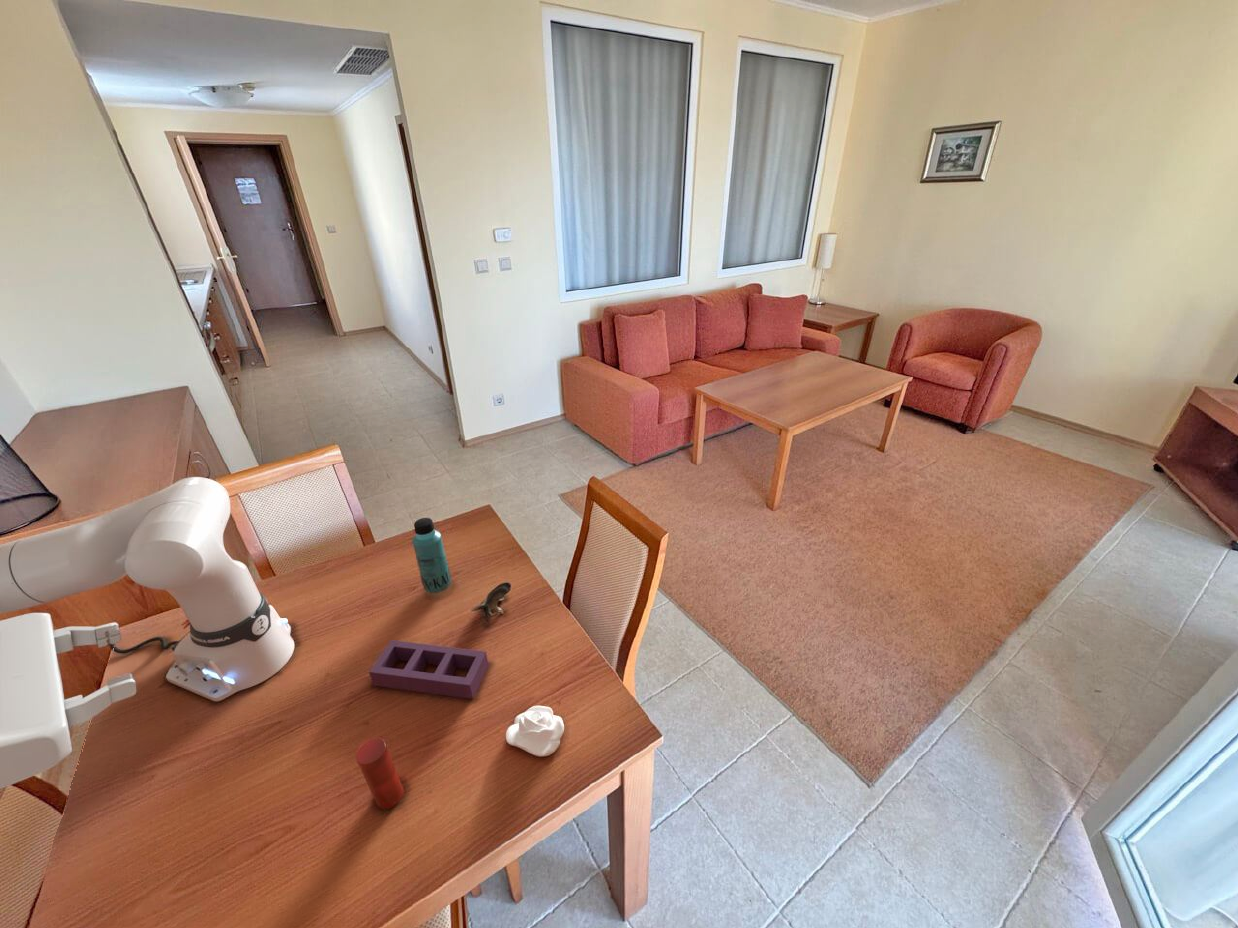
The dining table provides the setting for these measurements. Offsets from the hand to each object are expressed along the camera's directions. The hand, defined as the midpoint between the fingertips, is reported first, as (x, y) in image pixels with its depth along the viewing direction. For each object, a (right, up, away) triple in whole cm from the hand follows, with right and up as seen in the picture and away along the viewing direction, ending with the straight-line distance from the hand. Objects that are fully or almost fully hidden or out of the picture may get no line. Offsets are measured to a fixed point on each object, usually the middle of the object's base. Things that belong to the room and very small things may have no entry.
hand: (127, 655), depth 52 cm
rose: (+37, -28, +36) cm, 58 cm away
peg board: (+14, -22, +47) cm, 53 cm away
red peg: (+15, -33, +27) cm, 45 cm away
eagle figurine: (+23, -14, +62) cm, 67 cm away
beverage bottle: (+8, -11, +68) cm, 69 cm away
